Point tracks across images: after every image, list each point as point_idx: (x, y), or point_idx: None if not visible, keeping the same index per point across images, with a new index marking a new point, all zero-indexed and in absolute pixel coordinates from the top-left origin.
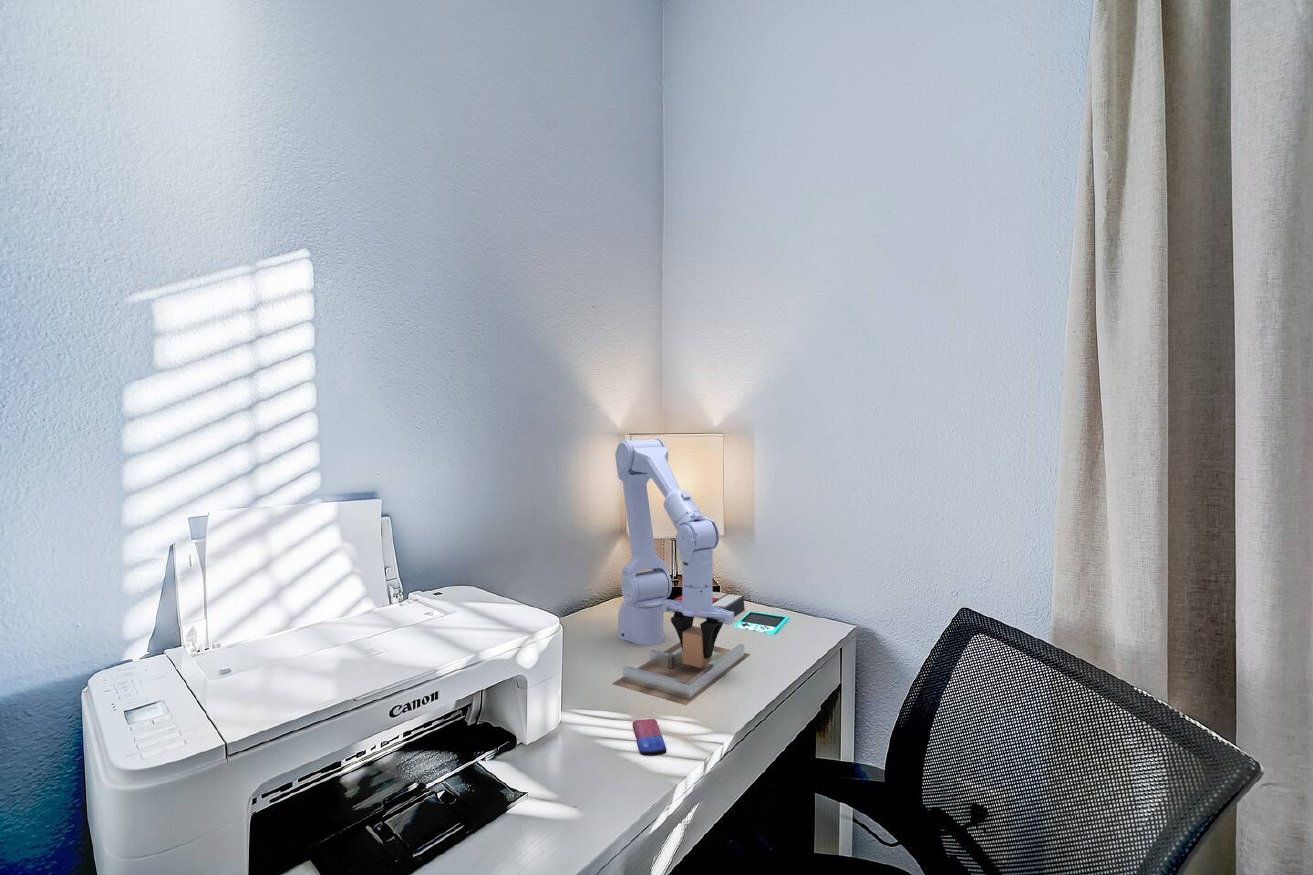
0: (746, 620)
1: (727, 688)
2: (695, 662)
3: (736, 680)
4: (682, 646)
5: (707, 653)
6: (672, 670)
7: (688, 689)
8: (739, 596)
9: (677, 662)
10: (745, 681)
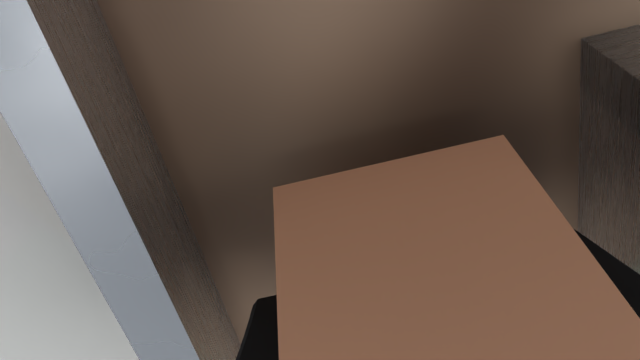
0: None
1: (6, 171)
2: (348, 194)
3: (89, 306)
4: (615, 272)
5: (243, 349)
6: (565, 28)
7: None
8: None
9: (596, 153)
10: (35, 334)
